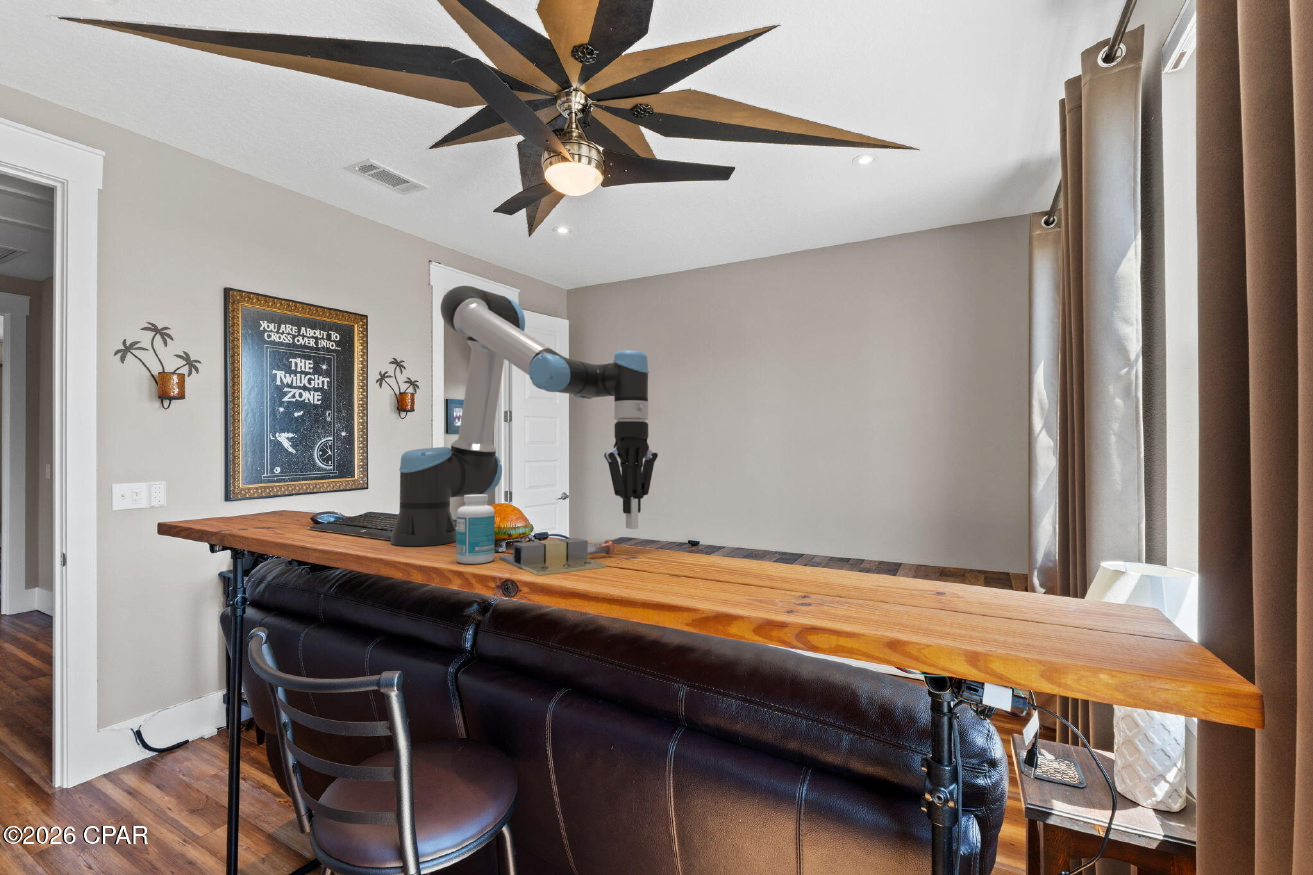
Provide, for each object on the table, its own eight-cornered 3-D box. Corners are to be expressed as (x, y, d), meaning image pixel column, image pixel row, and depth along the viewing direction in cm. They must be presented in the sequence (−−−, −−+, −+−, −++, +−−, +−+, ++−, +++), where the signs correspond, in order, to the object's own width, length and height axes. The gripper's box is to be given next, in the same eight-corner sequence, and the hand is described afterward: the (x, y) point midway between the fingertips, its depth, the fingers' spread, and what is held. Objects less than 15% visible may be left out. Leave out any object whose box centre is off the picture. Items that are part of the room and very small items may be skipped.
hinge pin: (543, 559, 117) (543, 544, 117) (607, 552, 125) (607, 539, 126) (549, 562, 114) (549, 546, 114) (614, 554, 123) (614, 540, 123)
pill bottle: (499, 558, 121) (500, 493, 121) (486, 565, 113) (487, 496, 114) (465, 557, 121) (466, 493, 122) (449, 564, 114) (450, 495, 115)
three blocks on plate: (499, 558, 120) (499, 538, 120) (560, 552, 128) (560, 533, 128) (538, 575, 104) (539, 551, 104) (606, 567, 112) (606, 545, 112)
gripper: (614, 419, 121) (615, 532, 120) (665, 421, 129) (665, 527, 128) (597, 421, 127) (597, 528, 126) (646, 423, 135) (646, 524, 134)
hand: (631, 528), depth 127 cm, fingers closed
